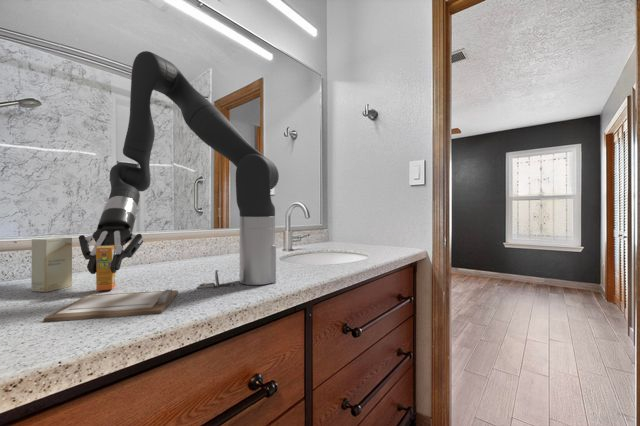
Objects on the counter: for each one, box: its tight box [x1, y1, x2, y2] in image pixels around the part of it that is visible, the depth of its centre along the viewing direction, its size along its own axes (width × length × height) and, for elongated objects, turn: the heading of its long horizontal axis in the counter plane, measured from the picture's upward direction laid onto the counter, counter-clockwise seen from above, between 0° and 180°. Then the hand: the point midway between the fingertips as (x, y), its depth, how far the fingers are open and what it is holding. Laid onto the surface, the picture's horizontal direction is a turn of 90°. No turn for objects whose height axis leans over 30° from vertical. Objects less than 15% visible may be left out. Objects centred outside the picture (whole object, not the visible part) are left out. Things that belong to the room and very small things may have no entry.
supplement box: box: [95, 245, 116, 292], centre depth 70 cm, size 3×3×10 cm
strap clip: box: [197, 269, 235, 290], centre depth 74 cm, size 8×3×4 cm, turn 107°
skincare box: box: [31, 237, 73, 293], centre depth 71 cm, size 6×4×12 cm
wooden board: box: [43, 289, 179, 323], centre depth 59 cm, size 18×14×2 cm
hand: (102, 271), depth 68 cm, fingers closed on supplement box, 3 cm apart
